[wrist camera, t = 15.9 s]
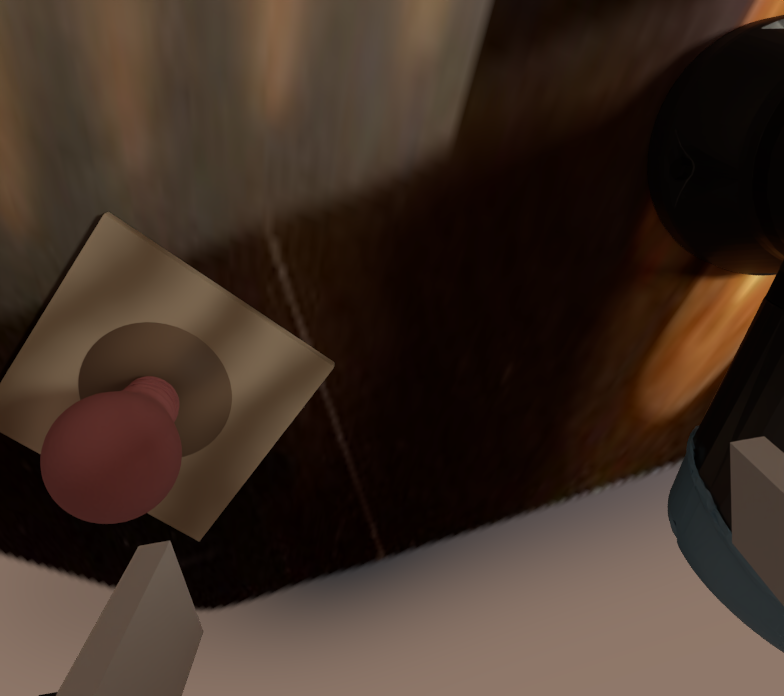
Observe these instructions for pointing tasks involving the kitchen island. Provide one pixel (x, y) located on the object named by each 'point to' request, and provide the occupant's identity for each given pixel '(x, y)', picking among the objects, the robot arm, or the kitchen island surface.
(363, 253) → the kitchen island surface
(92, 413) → the dark red bulb shape
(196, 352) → the seat board
